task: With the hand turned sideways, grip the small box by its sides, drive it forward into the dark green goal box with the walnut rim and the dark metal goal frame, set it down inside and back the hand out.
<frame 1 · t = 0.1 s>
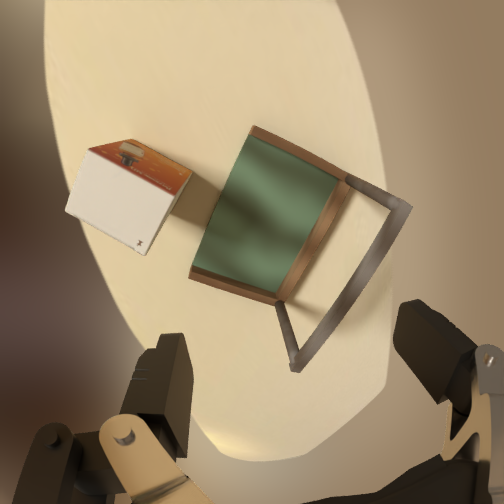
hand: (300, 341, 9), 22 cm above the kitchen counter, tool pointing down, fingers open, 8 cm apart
small box: (150, 175, 28), on the kitchen counter
goal: (267, 221, 31), on the kitchen counter
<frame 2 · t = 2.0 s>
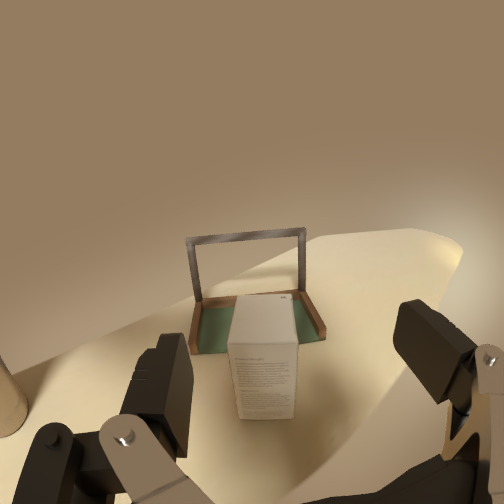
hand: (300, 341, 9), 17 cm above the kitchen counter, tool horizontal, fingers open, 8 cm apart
small box: (267, 394, 27), on the kitchen counter
goal: (254, 324, 40), on the kitchen counter
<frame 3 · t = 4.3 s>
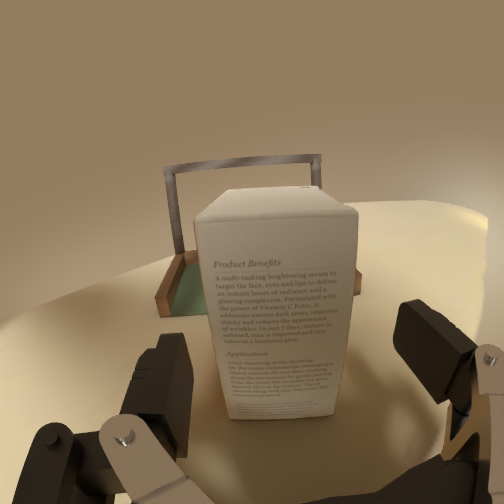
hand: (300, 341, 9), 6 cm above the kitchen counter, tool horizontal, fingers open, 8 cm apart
small box: (279, 374, 16), on the kitchen counter
goal: (255, 279, 29), on the kitchen counter
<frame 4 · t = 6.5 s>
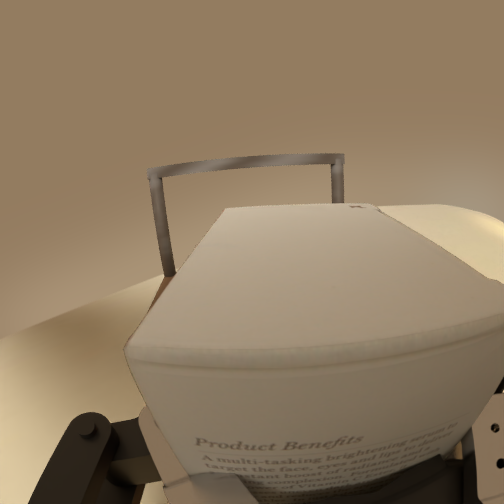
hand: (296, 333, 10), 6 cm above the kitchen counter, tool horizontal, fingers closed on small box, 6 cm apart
small box: (301, 465, 9), on the kitchen counter, touching gripper
goal: (263, 312, 23), on the kitchen counter
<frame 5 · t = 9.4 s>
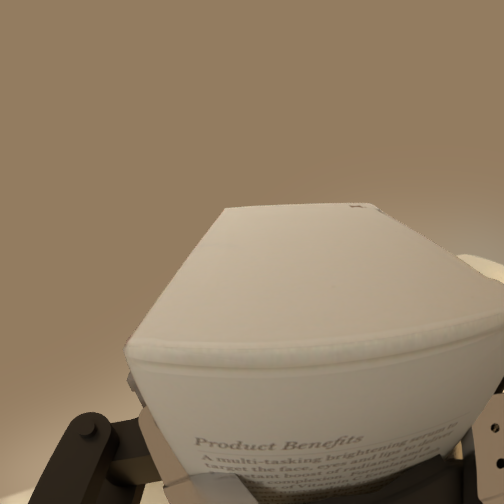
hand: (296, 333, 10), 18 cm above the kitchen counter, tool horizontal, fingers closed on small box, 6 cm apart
small box: (302, 465, 9), point 11 cm above the kitchen counter, touching gripper
when the fingers open (7 cm above the kitchen counter, at t = 12.3 s): small box stays where it is, resting on goal.
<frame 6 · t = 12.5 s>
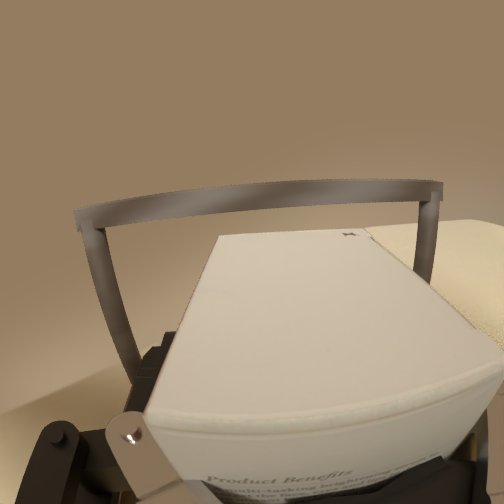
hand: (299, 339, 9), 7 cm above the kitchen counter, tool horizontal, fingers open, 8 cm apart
small box: (297, 474, 10), resting on goal
goal: (299, 467, 10), on the kitchen counter
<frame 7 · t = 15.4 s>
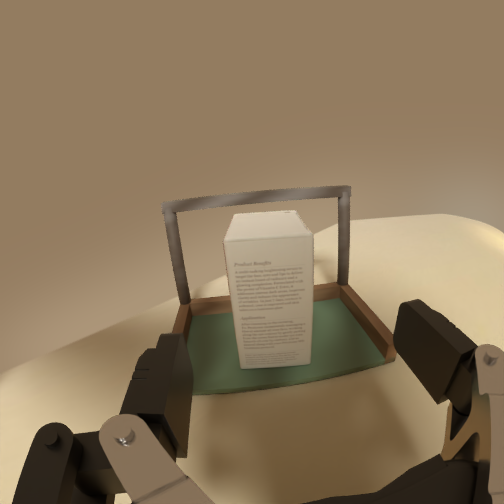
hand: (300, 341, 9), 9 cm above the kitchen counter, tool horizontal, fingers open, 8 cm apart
small box: (273, 341, 23), resting on goal
goal: (275, 339, 24), on the kitchen counter
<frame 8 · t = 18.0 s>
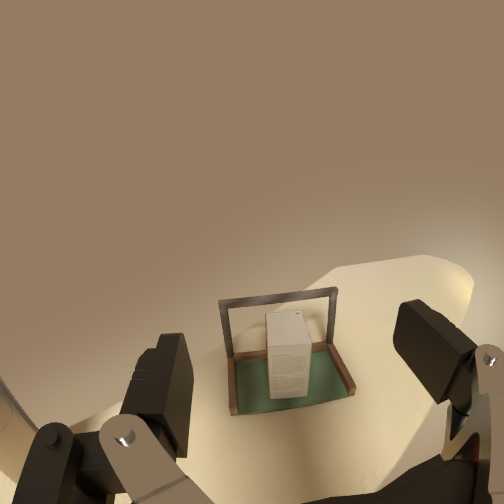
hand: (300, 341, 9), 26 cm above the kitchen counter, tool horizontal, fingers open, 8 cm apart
small box: (286, 381, 39), resting on goal
goal: (287, 380, 40), on the kitchen counter
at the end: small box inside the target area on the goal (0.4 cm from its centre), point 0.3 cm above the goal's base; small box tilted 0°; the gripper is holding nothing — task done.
